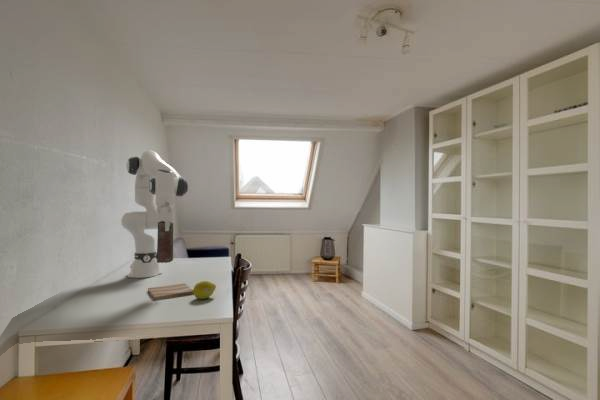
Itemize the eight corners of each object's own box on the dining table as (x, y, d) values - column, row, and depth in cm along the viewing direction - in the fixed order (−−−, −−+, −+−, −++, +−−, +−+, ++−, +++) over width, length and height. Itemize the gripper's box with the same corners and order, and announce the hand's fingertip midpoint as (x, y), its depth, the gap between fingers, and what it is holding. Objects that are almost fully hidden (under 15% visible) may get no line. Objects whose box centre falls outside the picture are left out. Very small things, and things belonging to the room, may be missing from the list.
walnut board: (148, 291, 165) (148, 288, 165) (184, 286, 175) (184, 283, 175) (154, 300, 150) (154, 296, 150) (194, 294, 159) (194, 290, 159)
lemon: (193, 302, 146) (193, 284, 146) (190, 298, 153) (190, 280, 153) (218, 299, 151) (218, 281, 151) (213, 294, 158) (213, 278, 158)
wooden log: (169, 260, 166) (170, 221, 166) (176, 262, 161) (176, 221, 161) (154, 262, 161) (154, 221, 161) (160, 264, 155) (160, 222, 155)
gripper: (176, 202, 154) (176, 231, 154) (168, 202, 171) (168, 228, 171) (162, 202, 150) (162, 232, 150) (155, 202, 168) (155, 229, 168)
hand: (165, 230), depth 161 cm, fingers closed on wooden log, 7 cm apart
